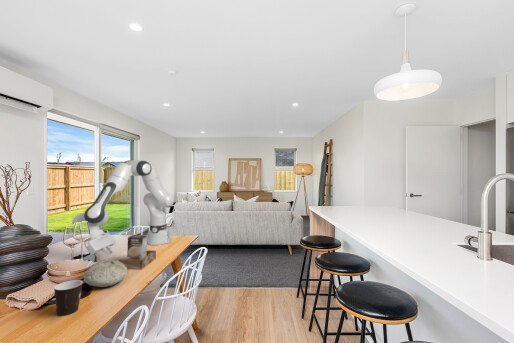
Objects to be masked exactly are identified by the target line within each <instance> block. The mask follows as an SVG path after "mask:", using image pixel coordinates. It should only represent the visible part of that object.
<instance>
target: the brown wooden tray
mask: <svg viewBox="0 0 514 343" xmlns="http://www.w3.org/2000/svg"><path fill="white" fill-rule="evenodd" d="M156 254H157V250H147V254H146V256H145V257H144V258H142V259H141V260H133V259H127V258H122V259H121V258H120V259H118V260H117V261H119V262H121V263H123V264H124V265H125V267H127V270H143V269H144V268H146V266H147V267H148V265H150V264H151V263H152V262H154V260H156V258H157V257H156V256H157V255H156Z"/></svg>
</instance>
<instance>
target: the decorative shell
mask: <svg viewBox="0 0 514 343" xmlns="http://www.w3.org/2000/svg"><path fill="white" fill-rule="evenodd" d="M127 273H128V269H127V267H125V265H124V264H123V263H121V262H119V261H118V260H114V259H112V260H111V259H108V260H106V259H105V260H102V261H99V262H97V263H94V264H92V265H90V266H89V268H87V270H86V271H84V274H83V280H84V282H85V283H86V284H87V285H89V286H93V287H99V288H106V287H110V286H114V285H115V284H118V283H119V282H121V281H122V280H124V279H125V277H126V276H127Z"/></svg>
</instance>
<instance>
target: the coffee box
mask: <svg viewBox="0 0 514 343" xmlns="http://www.w3.org/2000/svg"><path fill="white" fill-rule="evenodd" d="M147 236H148V235H142V234H133V235H130V236H128V237H127V252H126V253H127V256H126V259H133V260H141V259H142V258H144V257H145V256H146V254H147V248H148V246H147V245H148V244H147Z"/></svg>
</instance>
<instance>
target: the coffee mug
mask: <svg viewBox="0 0 514 343" xmlns="http://www.w3.org/2000/svg"><path fill="white" fill-rule="evenodd" d="M83 283H84V282H83V281H82V280H80V279H73V280H67V281H63V282H60V283H58V284H56V285H54V288H53V289H54V296H55V297H54V298H55V299H54V300H55V309H56V315H57V316H58V317H66V316H70V315H72V314H75V313H76V312H77V311H78V310H79V306H80V301H81V294H82V288H83Z"/></svg>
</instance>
